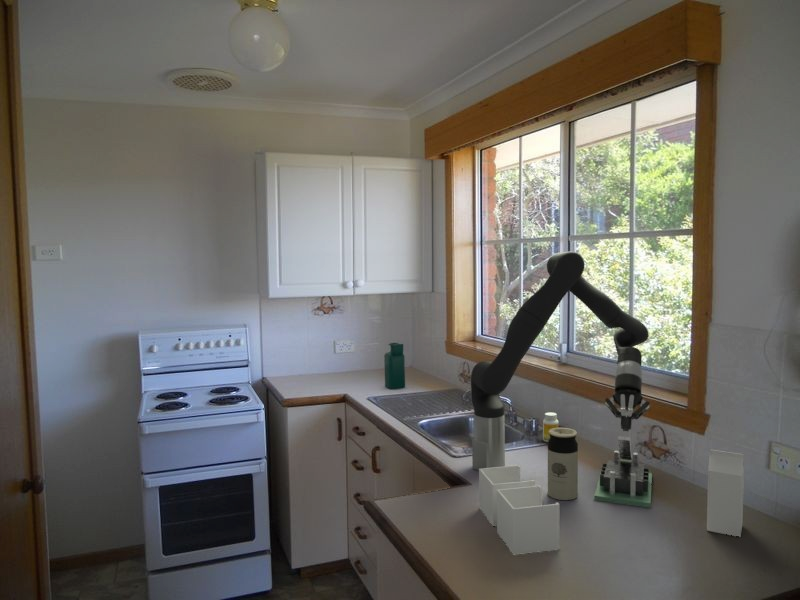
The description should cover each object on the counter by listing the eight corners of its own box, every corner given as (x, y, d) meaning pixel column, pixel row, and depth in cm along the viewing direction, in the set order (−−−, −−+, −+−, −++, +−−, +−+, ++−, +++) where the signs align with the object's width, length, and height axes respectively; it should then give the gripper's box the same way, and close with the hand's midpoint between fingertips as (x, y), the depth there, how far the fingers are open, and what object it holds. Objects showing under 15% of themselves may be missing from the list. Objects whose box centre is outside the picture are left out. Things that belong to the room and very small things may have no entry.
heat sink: (647, 499, 161) (647, 475, 160) (598, 493, 166) (598, 469, 165) (648, 476, 177) (649, 454, 176) (603, 470, 181) (604, 449, 181)
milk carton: (740, 538, 142) (743, 459, 140) (706, 531, 145) (708, 453, 144) (742, 525, 148) (744, 449, 146) (709, 519, 151) (711, 445, 150)
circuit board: (650, 507, 159) (650, 503, 159) (594, 499, 164) (594, 495, 164) (651, 477, 179) (651, 473, 179) (601, 471, 184) (601, 467, 184)
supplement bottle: (541, 438, 216) (541, 411, 215) (556, 437, 216) (556, 411, 215) (545, 443, 211) (545, 416, 210) (560, 442, 211) (560, 415, 210)
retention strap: (620, 460, 178) (620, 456, 179) (631, 461, 177) (631, 458, 178) (618, 439, 166) (618, 436, 167) (629, 440, 165) (630, 437, 166)
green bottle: (383, 386, 300) (382, 342, 298) (399, 384, 303) (398, 340, 301) (391, 390, 291) (390, 345, 289) (407, 388, 294) (406, 343, 292)
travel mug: (557, 486, 173) (557, 425, 172) (583, 494, 168) (583, 431, 166) (542, 495, 168) (542, 431, 166) (568, 503, 162) (568, 438, 161)
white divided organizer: (479, 509, 161) (479, 468, 160) (518, 504, 163) (518, 465, 162) (513, 556, 136) (513, 509, 135) (559, 550, 138) (559, 504, 137)
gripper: (604, 370, 185) (601, 421, 175) (652, 373, 180) (650, 425, 170) (606, 384, 190) (602, 434, 180) (651, 387, 185) (650, 438, 175)
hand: (625, 430), depth 175 cm, fingers closed
